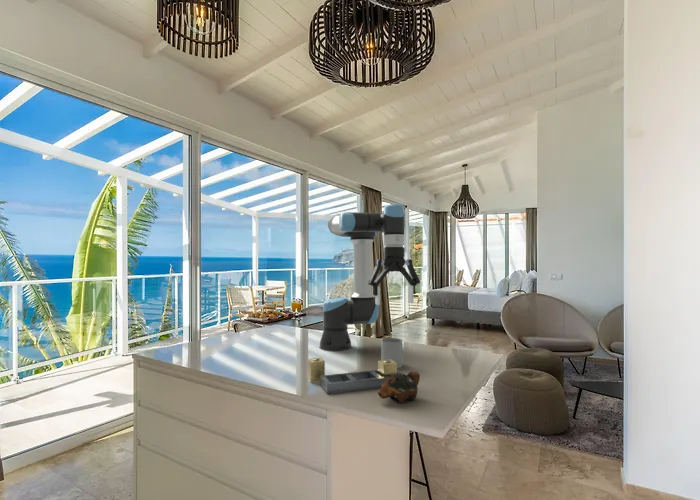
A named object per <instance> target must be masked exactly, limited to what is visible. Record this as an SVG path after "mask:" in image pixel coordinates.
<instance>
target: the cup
mask: <svg viewBox="0 0 700 500" xmlns="http://www.w3.org/2000/svg"><path fill="white" fill-rule="evenodd" d="M380 341H381V342H380V343H381V346H380V347H381V352H380V353H381V354H380V355H381V356H380V357H381V359H380V360H390V359H391V360H393V361H394V362H396V363H397V369H399V368H402V367H403V340H402V339H400V338H395V337H388V338H387V337H386V338H385V337H384V338H382V339H381V340H380Z"/></svg>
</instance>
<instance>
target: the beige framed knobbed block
mask: <svg viewBox="0 0 700 500" xmlns="http://www.w3.org/2000/svg"><path fill="white" fill-rule="evenodd" d="M377 370H378V374H379V375H380V376H381V377H387V376H391V375H393V374H397V370H398V368H397V363H396V362H394V361H393V360H391V359H390V360H381V359H380V360H377Z"/></svg>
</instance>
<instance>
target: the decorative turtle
mask: <svg viewBox="0 0 700 500" xmlns="http://www.w3.org/2000/svg"><path fill="white" fill-rule="evenodd" d="M420 380H421V377H420V373H419V372H418V371H415V370H411V371H409V372H408V373H407V374H405V373H403V372H402V373H398V374H393V375H391V376H389V377H387V378H386V379H384V381H383V382H382V387H380V388H378V390H377V393H378V396H379V397H380V399H388V398H390V399H395V397H396V399H397V401H398V402H399V403H400V404H404V403H405V402H406V400H407V399H409V400H410V401H415V400H416V398H417V395H418V385H419V383H420Z"/></svg>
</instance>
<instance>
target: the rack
mask: <svg viewBox="0 0 700 500" xmlns="http://www.w3.org/2000/svg"><path fill="white" fill-rule="evenodd" d="M398 373H403V372H401V371H400V370H399V369H397V374H398ZM387 377H389V376H387ZM387 377H381V376H380V375H379V374H378V369H375V370H374V369H372V370H365V371H362V370H361V371H355V372H342V373H333V374H325V375H322V376H320V382H319V385H320V386H321V388H322V389H323V391H324V392H325V393H326V394H327V395H328V394H335V393H344V392H345V391H346V392H353V391H362V389H363V390H370V389H381V388H382V382H383V381H384V379H386V378H387Z"/></svg>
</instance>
